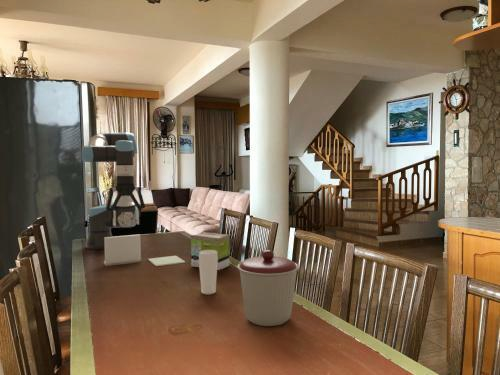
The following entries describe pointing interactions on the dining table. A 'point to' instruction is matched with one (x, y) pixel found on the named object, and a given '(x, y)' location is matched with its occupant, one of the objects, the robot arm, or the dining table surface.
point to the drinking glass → (208, 270)
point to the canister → (268, 288)
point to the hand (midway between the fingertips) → (126, 224)
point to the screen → (122, 250)
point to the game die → (126, 219)
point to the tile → (166, 260)
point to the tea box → (210, 247)
